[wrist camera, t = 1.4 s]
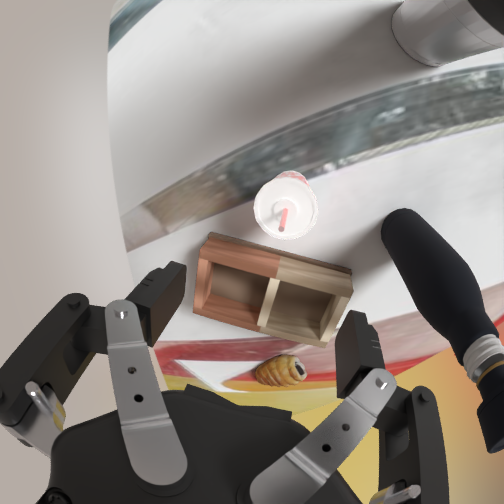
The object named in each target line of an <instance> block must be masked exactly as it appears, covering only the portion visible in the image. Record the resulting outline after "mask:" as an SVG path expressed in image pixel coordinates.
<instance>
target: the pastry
mask: <svg viewBox="0 0 504 504" xmlns="http://www.w3.org/2000/svg"><path fill="white" fill-rule="evenodd" d="M306 376H307V372H306V370H305V367H304V365H303V364H302V363H301V362H300V360H299V359H298V357H296V356H291V355H281V356H278V357H277V356H276V357H274V358H272V359H270V360H268V361H266V362H265V363H263V364H261V365H260V366H259V367H258V368H257V369H256V372H255V377H256V379H257V380H258V382H259V383H261V384H264V385H270V386H277V387H280V386H284V387H288V386H289V385H296V384H298V383H299V381H303V380H304V379H305V377H306Z"/></svg>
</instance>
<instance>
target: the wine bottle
mask: <svg viewBox="0 0 504 504" xmlns="http://www.w3.org/2000/svg"><path fill="white" fill-rule="evenodd" d="M381 238H382V241H383V243H384V245H385V247H386V249H387V251H388V252H389V254H390V256H391V258H392V260H393V261H394V263H395V265H396V267H397V269H398V271H399V273H400V275H401V277H402V278H403V280H404V282H405V284H406V286H407V288H408V290H409V292H410V294H411V296H412V299H413V301H414V303H415V305H416V307H417V309H418V310H419V312H420V313H421V314H422V316H423V317H424V318H425V319H426V320H427V321H428V322H429V324H430V325H431V326H432V327H433V328H434V329H435V330H436V331H437V332H439V333H440V334H441V335H442V336H443V337H445V338H446V339H447V340H448V341H449V342H450V344H451V346H452V349H453V351H454V353H455V355H456V358H457V360H458V362H459V363H460V364H461V366H464V369H465V370H466V371H467V376H468V377H469V379H471V380H472V381H473V382H475V383H476V386H477V388H478V390H479V391H480V394H481V396H482V399H483V402H482V403H481V404H480V406H479V407H478V409H477V416H478V418H479V422H480V426H481V429H482V433H483V436H484V440H485V444H486V448H487V451H488V452H489V453H495V452H498V451H500V450H502V449H504V346H503V345H501V342H500V339H499V333H498V331H497V329H496V327H495V326H494V324H493V323H492V321H491V320H490V318H489V317H488V315H487V314H486V312H485V308H484V303H483V299H482V295H481V291H480V288H479V285H478V283H477V281H476V278H475V276H474V274H473V273H472V271H471V269H470V267H469V266H468V264H467V263H466V262H465V261H464V260H463V258H462V257H461V256H460V255H459V254H458V253H457V252H456V251H455V250H454V249H453V248H452V247H451V246H450V245H449V244H448V243H447V242H446V240H445V239H444V238H443V237H442V236H441V235H440V234H439V233H438V232H437V231H436V230H435V229H433V228H432V227H431V226H430V225H429V224H428V223H427V222H426V221H425V220H424V219H423V218H422V217H421V216H420V215H419V214H418V213H416V212H415V211H413V210H411V209H406V208H403V209H397V210H396V211H394V212H392V213H390V215H389V216H388V217H387V218H386V219H385V221H384V223H383V225H382V229H381Z"/></svg>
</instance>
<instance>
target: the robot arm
mask: <svg viewBox="0 0 504 504" xmlns="http://www.w3.org/2000/svg"><path fill="white" fill-rule="evenodd" d="M392 30H393V33H394V36H395V38H396V40H397V42H398V43H399V44H400V46H401V47H402V48H403V50H404V51H405V52H406V53H407V54H409V55H410V56H411V57H412V58H414V59H415V60H417V61H419V62H420V63H423V64H426V65H429V66H441V65H445V64H448V63H451V62H454V61H457V60H460V59H463V58H467V57H470V56H473V55H477V54H480V53H483V52H487V51H491V50H495V49H498V48H502V47H504V0H405V1H404V2H403V3H402V4H401V6H400V7H399V8H398V9H397V10H396V11H395V13H394V15H393V17H392ZM186 270H187V267H186V265H184V264H180V263H177V262H174V261H170V262H169V264H168V265H167V266H166V267H165V268H164V269H162V268H157V269H155V270H153V271H151V272H149V273H148V275H147V276H146V277H145V278H144V279H143V280H142V281H141V282H140V284H138V285H137V286H136V287H135V289H134V290H133V291H132V292H131V293H130V294H129V295H128V296H127V297H126V298H125V299H124V300H115V301H113V302H111V303H109V304H108V305H107V306H106V307H101V306H94V305H89V300H88V298H87V297H86V296H85V295H83V294H80V293H72V294H68V295H66V296H65V297H63V298H62V299H61V300H60V301H59V302H58V303H57V304H56V306H55V307H54V308H53V309H52V310H51V311H50V312H49V313H48V314H47V315H46V316H45V317H44V318H43V319H42V320H41V322H40V323H39V324H38V325H37V326H36V327H35V328H34V329H33V330H32V331H31V333H30V334H29V335H28V336H27V337H26V338H25V339H24V341H23V342H22V343H21V344H20V345H19V346H18V347H17V349H16V350H15V351H14V352H13V353H12V355H11V356H10V357H9V358H8V360H7V361H6V362H5V363H4V365H3V366H2V367H1V368H0V424H1V425H2V426H3V427H5V428H6V430H7V431H8V432H10V433H11V434H12V435H13V436H14V437H16V438H17V439H18V440H19V441H20V442H22V443H23V444H24V445H26V446H28V447H34V448H36V449H37V450H39V451H40V452H41V453H43V454H44V455H46V456H47V457H49V458H50V459H51V474H50V480H49V485H48V488H47V490H46V492H45V493H44V494H43V495H42V497H41V498H40V499H39V500H38V501H37V502H36V504H362V502H361V501H360V500H359V498H358V497H357V496H356V494H355V493H354V492H353V491H352V489H351V488H350V486H349V485H348V484H347V482H346V481H345V480H344V478H343V477H342V476H341V474H340V473H339V472H338V470H337V468H338V467H339V466H340V465H341V464H342V462H343V461H344V460H345V459H346V458H347V457H348V456H349V454H350V453H351V452H352V451H353V450H354V449H355V447H356V446H357V445H358V444H359V442H360V441H361V440H362V439H363V437H364V436H365V435H366V434H367V432H368V431H369V430H370V428H371V427H374V428H377V429H379V487H378V492H377V493H376V494H374V495H373V497H372V498H371V500H370V502H369V504H449V486H448V485H449V484H448V472H447V463H446V454H445V447H444V440H443V433H442V427H441V422H440V417H439V412H438V407H437V402H436V398H435V396H434V394H433V392H432V391H431V390H430V389H428V388H427V387H424V386H417V387H415V388H414V389H413V390H412V391H408V390H406V389H403V388H401V387H399V386H397V383H396V380H395V378H394V376H393V375H392V374H391V373H390V372H388V371H387V370H386V369H385V364H384V360H383V355H382V351H381V349H380V348H381V346H380V343H379V338H378V333H377V332H376V330H375V329H374V327H373V326H372V325H369V324H368V322H367V318H366V314H365V313H362V312H358V311H354V310H350V311H349V312H348V314H347V316H346V318H345V320H344V322H343V324H342V326H341V327H340V329H339V331H338V333H337V336H336V340H335V357H336V380H337V398H341V399H345V400H344V401H343V402H342V403H341V404H340V405H339V406H338V407H337V408H336V409H335V410H334V411H333V412H332V413H331V414H330V415H329V416H328V417H327V418H326V419H325V420H324V421H323V422H322V423H321V424H320V425H319V426H317V427H316V428H315V429H314V430H313V431H312V432H310V431H309V430H308V429H306V428H305V427H304V426H303V425H301V424H300V423H298V422H296V421H295V420H292V419H291V416H292V412H291V411H286V410H281V409H277V408H272V407H267V406H240V405H236V404H234V403H232V402H230V401H228V400H227V399H225V398H223V397H221V396H219V395H217V394H215V393H214V392H211V391H208V390H205V389H202V388H199V387H196V386H193V385H190V384H187V386H186V388H185V390H167V391H162V392H161V391H160V388H159V385H158V381H157V378H156V375H155V371H154V368H153V365H152V361H151V357H150V354H149V350H148V347H147V346H150V347H153V346H154V344H155V343H156V341H157V340H158V338H159V336H160V335H161V333H162V332H163V330H164V329H165V327H166V325H167V324H168V322H169V321H170V319H171V318H172V316H173V315H174V313H175V312H176V310H177V308H178V307H179V305H180V304H181V302H182V300H183V297H184V293H185V282H186ZM96 353H100V354H107V355H108V358H109V364H110V371H111V377H112V383H113V389H114V394H115V399H116V404H117V410H115V411H112V412H110V413H107V414H104V415H102V416H99V417H97V418H94V419H91V420H88V421H85V422H83V423H80V424H77V425H74V426H71V427H69V428H67V429H65V430H63V424H64V421H65V417H66V414H65V410H64V408H63V404H64V402H65V401H66V399H67V397H68V396H69V394H70V393H71V391H72V389H73V388H74V386H75V385H76V383H77V381H78V380H79V378H80V377H81V375H82V374H83V372H84V371H85V369H86V367H87V366H88V365H89V363H90V362H91V360H92V359H93V357H94V356H95V354H96ZM408 431H409V433H408Z"/></svg>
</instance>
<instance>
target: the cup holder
mask: <svg viewBox="0 0 504 504" xmlns="http://www.w3.org/2000/svg"><path fill="white" fill-rule="evenodd" d="M351 274H352V271H351V269H347V268H344V267H340V266H337V265H333V264H329V263H326V262H322V261H318V260H315V259H311V258H307V257H304V256H300V255H296V254H292V253H289V252H285V251H281V250H278V249H274V248H270V247H266V246H263V245H259V244H255V243H251V242H248V241H244V240H240V239H236V238H233V237H229V236H225V235H221V234H218V233H214V232H211V233H210V234H209V237H208V240H207V241H206V243H205V244H204V245H203V246H202V248H201V249H200V253H199V261H198V269H197V278H196V287H195V296H194V306H193V313H195V314H198V315H201V316H205V317H208V318H211V319H214V320H218V321H221V322H224V323H228V324H231V325H235V326H238V327H242V328H245V329H249V330H253V331H256V332H260V333H264V334H268V335H271V336H275V337H279V338H283V339H287V340H291V341H295V342H300V343H304V344H308V345H313V346H317V347H322V348H325V347H326V345H327V343H328V342H329V340H330V338H331V336H332V334H333V332H334V330H335V328H336V326H337V324H338V322H339V320H340V318H341V316H342V314H343V312H344V310H345V308H346V306H347V304H348V302H349V300H350V298H351V296H352V293H353V291H354V290H353V286H352V281H351Z"/></svg>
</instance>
